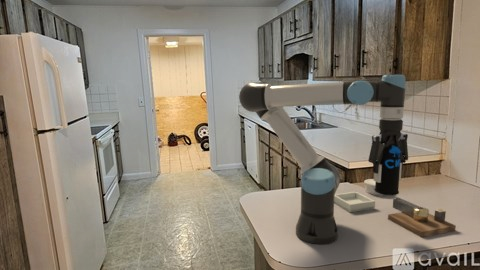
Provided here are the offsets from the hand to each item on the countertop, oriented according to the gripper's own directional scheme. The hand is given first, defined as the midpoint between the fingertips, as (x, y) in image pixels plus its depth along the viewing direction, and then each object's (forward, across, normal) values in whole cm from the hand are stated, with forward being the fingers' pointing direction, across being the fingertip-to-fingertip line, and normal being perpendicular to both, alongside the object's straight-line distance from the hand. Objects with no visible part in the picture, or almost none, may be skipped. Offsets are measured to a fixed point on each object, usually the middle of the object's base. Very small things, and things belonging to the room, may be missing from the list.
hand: (387, 180), depth 113 cm
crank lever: (+17, +16, +4) cm, 24 cm away
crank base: (+19, +16, -1) cm, 25 cm away
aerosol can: (+4, 0, 0) cm, 4 cm away
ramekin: (+20, +26, +35) cm, 48 cm away
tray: (+19, +4, +24) cm, 31 cm away
